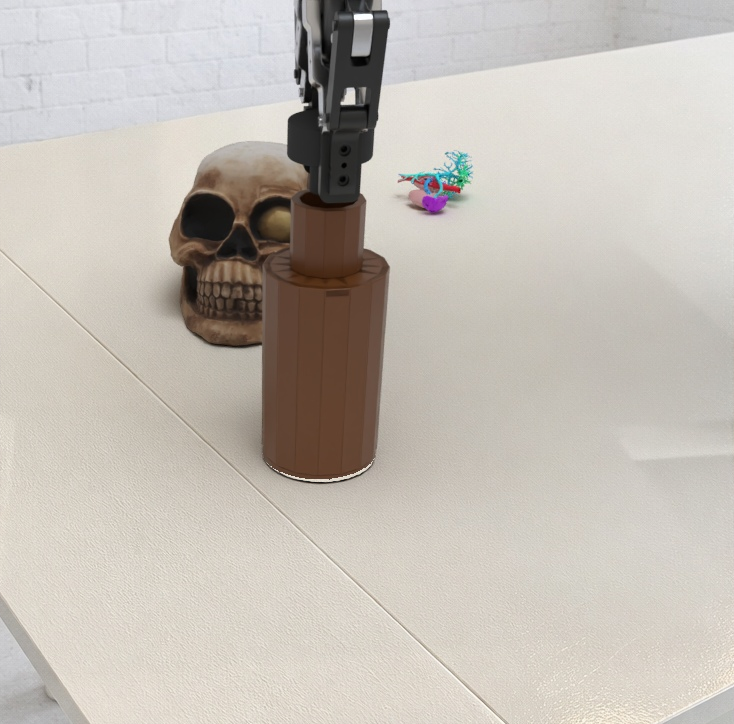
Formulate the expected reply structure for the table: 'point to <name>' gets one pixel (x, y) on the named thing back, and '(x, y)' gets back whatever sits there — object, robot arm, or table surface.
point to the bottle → (323, 342)
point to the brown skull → (233, 237)
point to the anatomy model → (438, 184)
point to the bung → (314, 143)
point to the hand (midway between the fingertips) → (329, 183)
